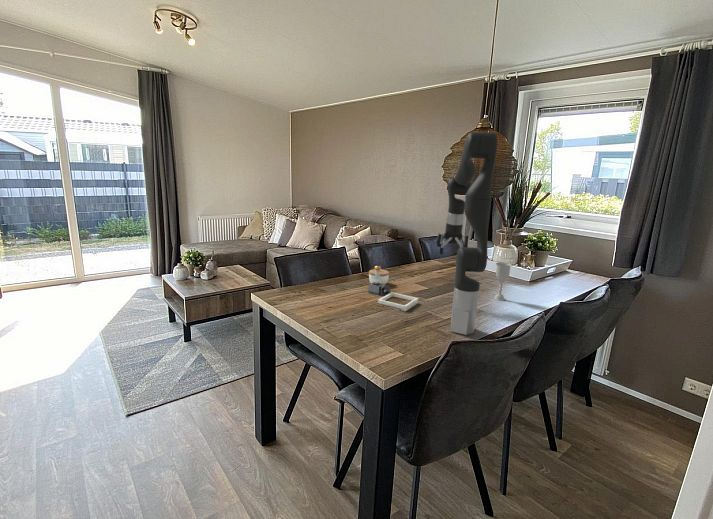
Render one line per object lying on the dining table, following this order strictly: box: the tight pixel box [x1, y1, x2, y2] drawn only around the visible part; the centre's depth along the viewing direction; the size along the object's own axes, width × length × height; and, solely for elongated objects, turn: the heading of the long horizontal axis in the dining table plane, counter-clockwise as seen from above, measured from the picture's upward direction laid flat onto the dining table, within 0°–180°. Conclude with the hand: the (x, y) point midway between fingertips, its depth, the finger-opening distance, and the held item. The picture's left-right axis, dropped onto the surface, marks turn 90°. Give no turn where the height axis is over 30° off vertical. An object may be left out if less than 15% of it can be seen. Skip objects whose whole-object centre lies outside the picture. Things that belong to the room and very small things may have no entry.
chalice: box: [493, 262, 513, 302], centre depth 187 cm, size 7×7×18 cm
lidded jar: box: [368, 268, 390, 285], centre depth 203 cm, size 11×11×9 cm
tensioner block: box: [364, 282, 395, 298], centre depth 189 cm, size 9×12×5 cm
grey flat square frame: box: [377, 291, 419, 312], centre depth 176 cm, size 14×14×2 cm
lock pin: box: [373, 265, 382, 285], centre depth 188 cm, size 3×3×13 cm
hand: (450, 255), depth 180 cm, fingers open, 8 cm apart
